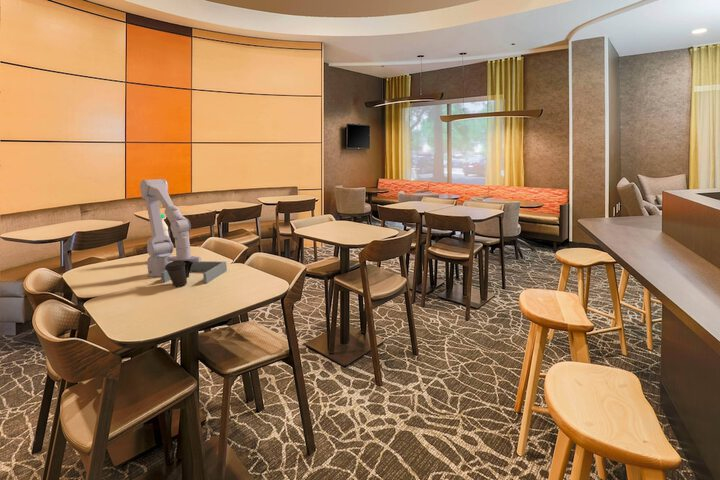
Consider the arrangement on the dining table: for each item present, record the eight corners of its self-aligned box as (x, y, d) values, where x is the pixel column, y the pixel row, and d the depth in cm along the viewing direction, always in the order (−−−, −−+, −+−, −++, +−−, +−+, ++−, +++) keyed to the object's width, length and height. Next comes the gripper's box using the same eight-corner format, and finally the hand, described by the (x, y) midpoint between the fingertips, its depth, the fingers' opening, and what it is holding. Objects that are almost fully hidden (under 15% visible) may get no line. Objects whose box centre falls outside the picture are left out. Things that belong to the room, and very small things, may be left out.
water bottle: (160, 259, 218) (154, 213, 213) (173, 258, 219) (168, 212, 213) (154, 262, 211) (149, 215, 206) (168, 262, 212) (163, 214, 207)
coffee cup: (194, 280, 174) (189, 260, 170) (180, 290, 167) (174, 269, 163) (180, 277, 177) (175, 257, 173) (165, 286, 170) (159, 266, 166)
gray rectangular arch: (162, 282, 176) (161, 272, 176) (186, 269, 196) (185, 261, 195) (206, 283, 174) (205, 273, 173) (226, 270, 194) (226, 261, 193)
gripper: (203, 245, 177) (206, 275, 180) (172, 245, 179) (175, 274, 181) (195, 249, 170) (198, 280, 173) (162, 248, 172) (166, 279, 175)
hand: (186, 277), depth 177 cm, fingers closed, pressing on coffee cup
